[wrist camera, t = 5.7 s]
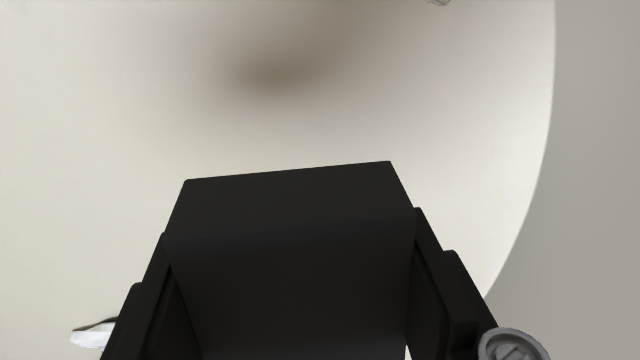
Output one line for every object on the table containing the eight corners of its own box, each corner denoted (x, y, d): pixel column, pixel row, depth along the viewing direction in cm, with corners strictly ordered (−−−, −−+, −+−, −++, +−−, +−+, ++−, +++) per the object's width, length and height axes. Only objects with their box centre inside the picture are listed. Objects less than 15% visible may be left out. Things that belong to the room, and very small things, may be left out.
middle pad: (184, 178, 10) (159, 238, 8) (390, 158, 11) (418, 213, 9) (222, 318, 13) (211, 391, 11) (385, 301, 14) (405, 369, 11)
